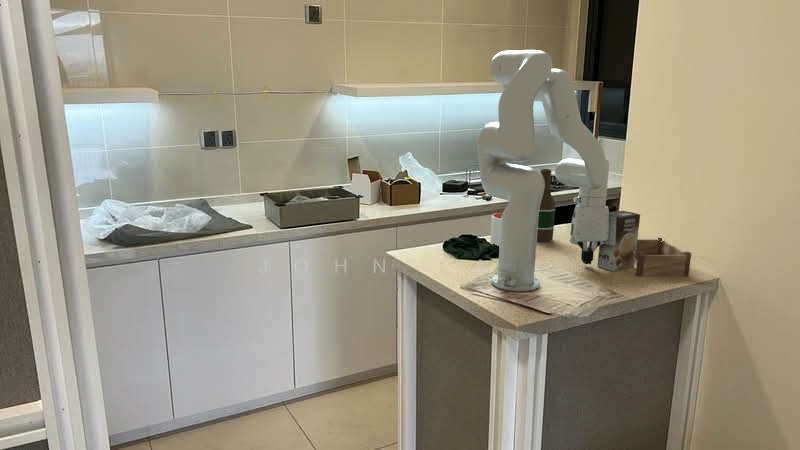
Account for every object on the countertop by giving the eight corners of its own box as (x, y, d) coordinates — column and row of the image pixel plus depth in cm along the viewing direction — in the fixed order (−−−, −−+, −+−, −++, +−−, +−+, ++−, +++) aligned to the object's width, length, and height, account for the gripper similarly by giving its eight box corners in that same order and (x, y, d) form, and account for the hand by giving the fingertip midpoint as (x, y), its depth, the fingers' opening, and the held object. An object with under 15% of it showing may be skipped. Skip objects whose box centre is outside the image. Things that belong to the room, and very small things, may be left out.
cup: (488, 241, 210) (489, 212, 208) (518, 242, 210) (519, 213, 208) (492, 250, 201) (494, 219, 198) (524, 250, 201) (526, 219, 198)
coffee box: (614, 272, 180) (619, 217, 176) (596, 266, 185) (601, 213, 181) (635, 267, 185) (640, 213, 181) (617, 261, 190) (622, 209, 186)
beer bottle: (527, 240, 212) (531, 170, 206) (531, 235, 219) (536, 167, 213) (550, 243, 209) (556, 171, 204) (554, 238, 216) (559, 168, 211)
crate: (688, 276, 177) (691, 252, 176) (637, 276, 176) (640, 252, 175) (659, 258, 194) (662, 236, 193) (613, 258, 194) (615, 236, 192)
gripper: (570, 204, 176) (565, 267, 180) (622, 204, 177) (616, 266, 181) (562, 198, 183) (557, 259, 187) (612, 198, 184) (606, 259, 188)
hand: (586, 262), depth 184 cm, fingers closed
